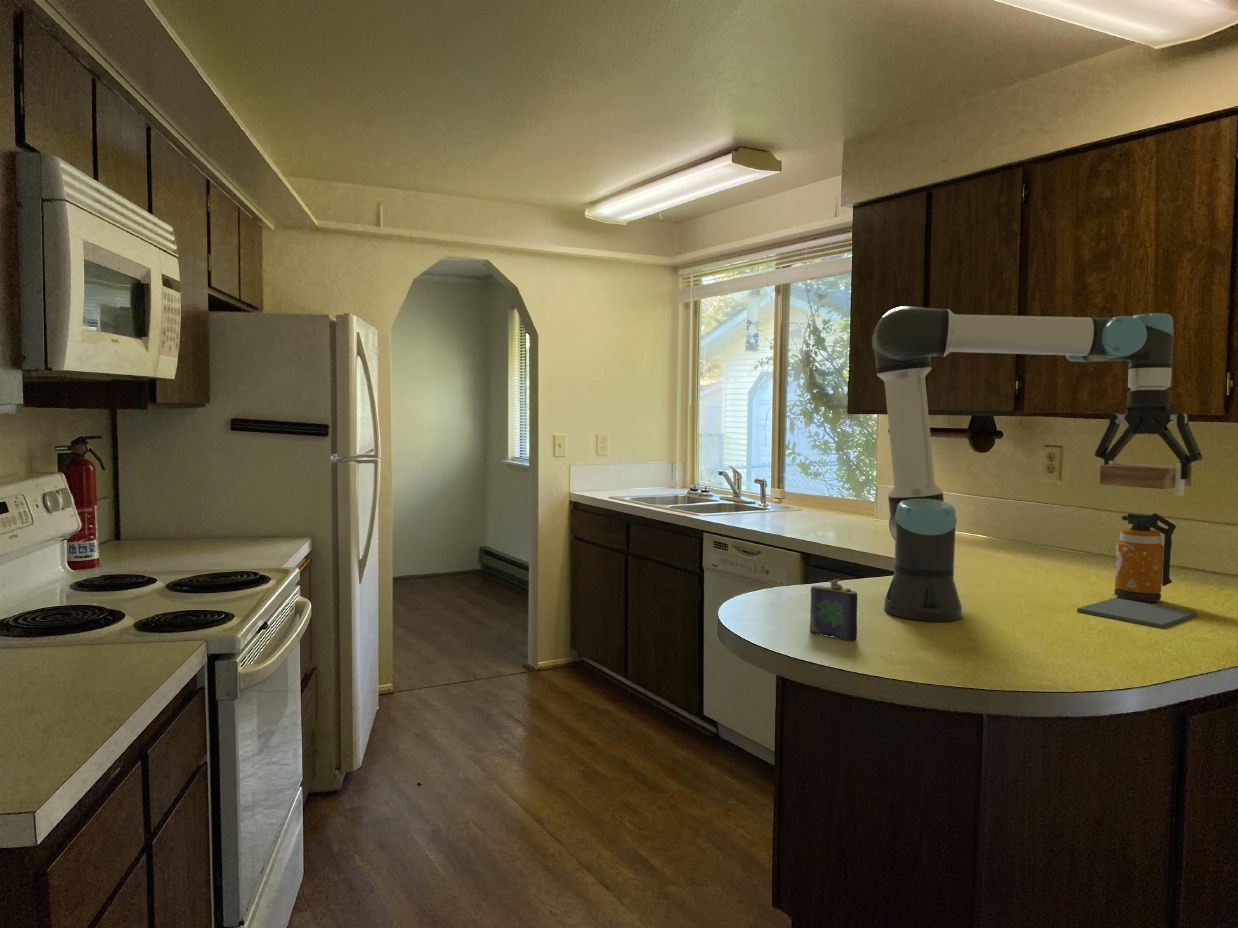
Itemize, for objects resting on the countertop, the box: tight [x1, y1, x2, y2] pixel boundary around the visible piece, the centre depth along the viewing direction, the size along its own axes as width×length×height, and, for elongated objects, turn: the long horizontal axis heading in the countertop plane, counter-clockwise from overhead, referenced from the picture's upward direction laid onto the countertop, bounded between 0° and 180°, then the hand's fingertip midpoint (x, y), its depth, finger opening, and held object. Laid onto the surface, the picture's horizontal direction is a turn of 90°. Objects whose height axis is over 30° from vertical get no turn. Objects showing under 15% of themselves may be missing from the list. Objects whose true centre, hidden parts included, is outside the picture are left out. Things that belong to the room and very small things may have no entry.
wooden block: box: [1099, 462, 1193, 490], centre depth 168 cm, size 14×12×4 cm
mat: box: [1076, 597, 1198, 629], centre depth 170 cm, size 18×16×1 cm
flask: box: [809, 578, 858, 642], centre depth 150 cm, size 9×3×11 cm, turn 48°
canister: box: [1113, 512, 1177, 604], centre depth 183 cm, size 9×11×20 cm
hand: (1144, 493), depth 169 cm, fingers closed on wooden block, 12 cm apart
